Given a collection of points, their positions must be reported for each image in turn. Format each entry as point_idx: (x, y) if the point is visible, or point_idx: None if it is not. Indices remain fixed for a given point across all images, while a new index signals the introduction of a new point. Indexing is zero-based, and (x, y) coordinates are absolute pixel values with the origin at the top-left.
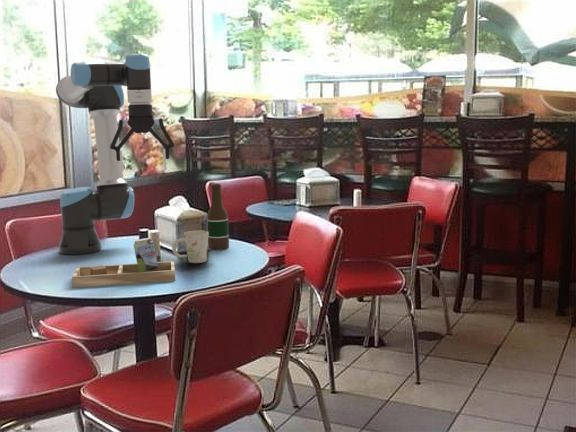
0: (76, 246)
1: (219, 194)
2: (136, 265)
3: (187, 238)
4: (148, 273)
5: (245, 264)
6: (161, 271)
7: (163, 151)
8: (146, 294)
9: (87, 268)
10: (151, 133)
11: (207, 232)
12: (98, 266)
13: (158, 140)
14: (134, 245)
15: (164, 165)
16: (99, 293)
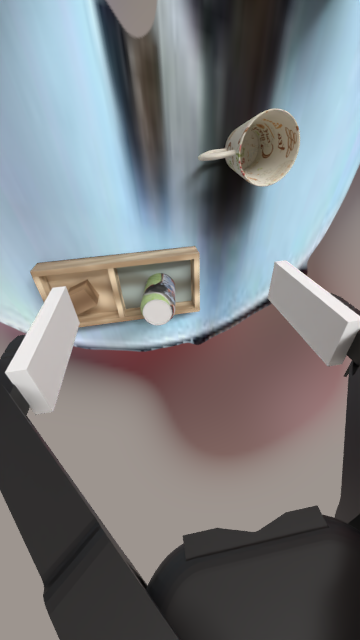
0: None
1: None
2: (136, 264)
3: (241, 175)
4: None
5: (313, 202)
6: (181, 313)
7: (322, 356)
8: (163, 339)
9: (52, 274)
10: (336, 518)
11: (297, 143)
12: (79, 295)
13: (349, 426)
14: (143, 316)
15: (280, 307)
16: (104, 332)
